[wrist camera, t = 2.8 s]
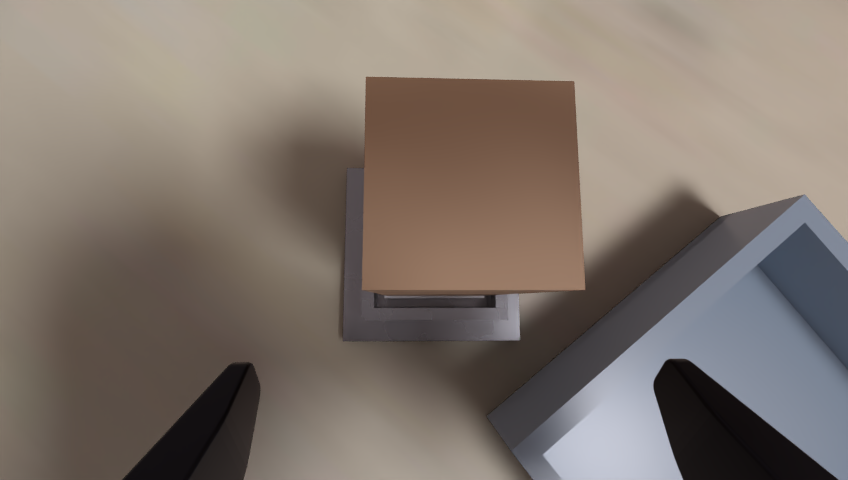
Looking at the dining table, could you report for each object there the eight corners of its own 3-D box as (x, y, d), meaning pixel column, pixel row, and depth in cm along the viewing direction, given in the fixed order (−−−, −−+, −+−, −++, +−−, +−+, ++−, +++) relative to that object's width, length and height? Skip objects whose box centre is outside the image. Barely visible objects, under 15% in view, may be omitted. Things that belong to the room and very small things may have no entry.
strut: (477, 298, 20) (590, 295, 8) (385, 298, 19) (356, 295, 7) (476, 208, 20) (579, 76, 8) (386, 207, 20) (360, 71, 8)
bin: (710, 707, 18) (810, 840, 14) (486, 416, 19) (511, 450, 15) (938, 468, 20) (1091, 517, 16) (720, 216, 21) (804, 194, 17)
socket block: (516, 339, 20) (533, 344, 17) (344, 339, 20) (335, 346, 17) (511, 173, 21) (526, 156, 18) (348, 171, 21) (340, 153, 18)
